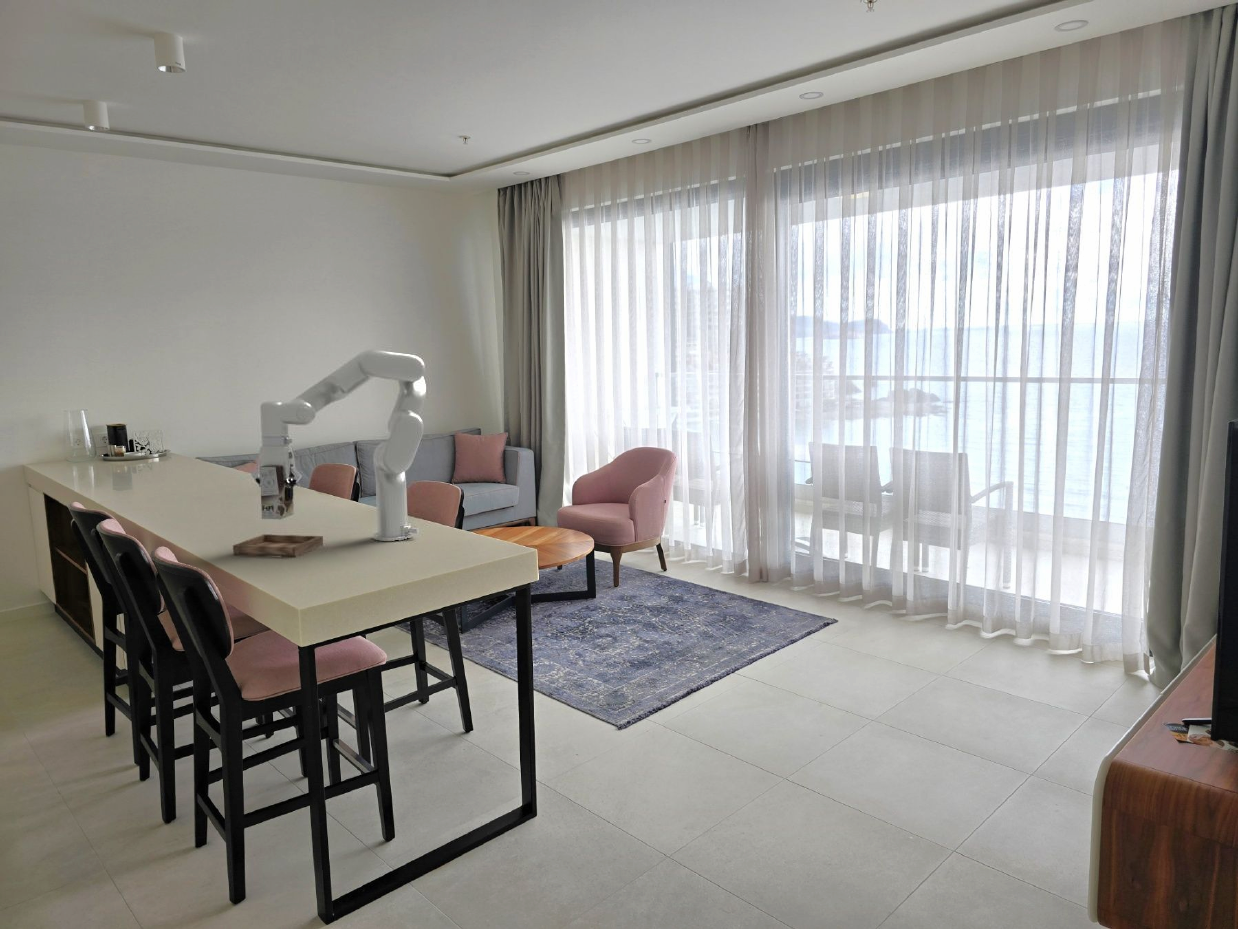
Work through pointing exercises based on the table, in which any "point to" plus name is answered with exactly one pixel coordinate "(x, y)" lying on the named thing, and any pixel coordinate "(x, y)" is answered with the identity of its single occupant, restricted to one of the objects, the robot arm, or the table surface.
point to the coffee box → (274, 494)
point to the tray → (278, 545)
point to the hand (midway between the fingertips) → (277, 499)
